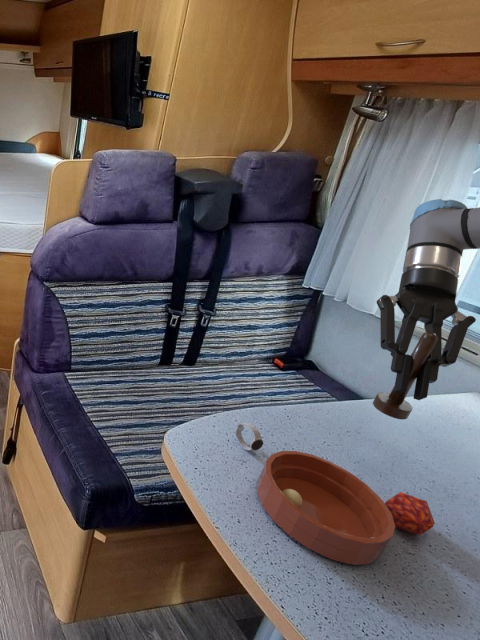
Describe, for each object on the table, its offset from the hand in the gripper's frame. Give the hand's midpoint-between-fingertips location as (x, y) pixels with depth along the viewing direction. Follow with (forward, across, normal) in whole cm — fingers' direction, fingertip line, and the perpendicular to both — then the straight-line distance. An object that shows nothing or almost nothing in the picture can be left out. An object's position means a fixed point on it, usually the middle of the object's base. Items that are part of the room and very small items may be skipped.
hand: (409, 394), depth 79 cm
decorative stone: (+20, -5, -9) cm, 22 cm away
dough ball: (+24, +12, -1) cm, 27 cm away
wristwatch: (+17, +20, -12) cm, 28 cm away
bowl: (+25, +8, -4) cm, 26 cm away
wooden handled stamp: (+2, 0, -7) cm, 7 cm away
